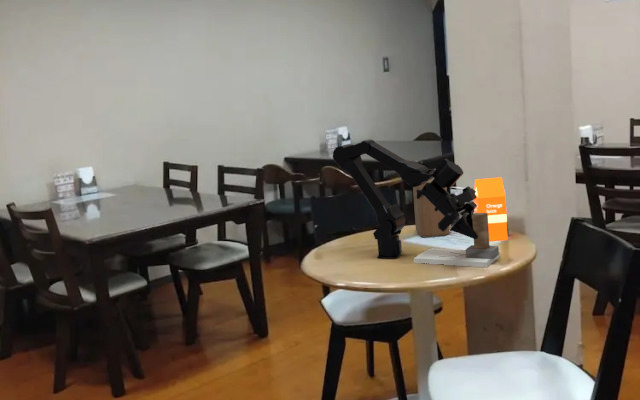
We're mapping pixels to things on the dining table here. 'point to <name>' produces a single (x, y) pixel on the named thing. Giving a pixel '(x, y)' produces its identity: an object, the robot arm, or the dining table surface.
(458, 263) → the primed board
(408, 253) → the dining table surface
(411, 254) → the dining table surface
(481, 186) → the orange juice
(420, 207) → the wooden block
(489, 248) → the brown post on stand
